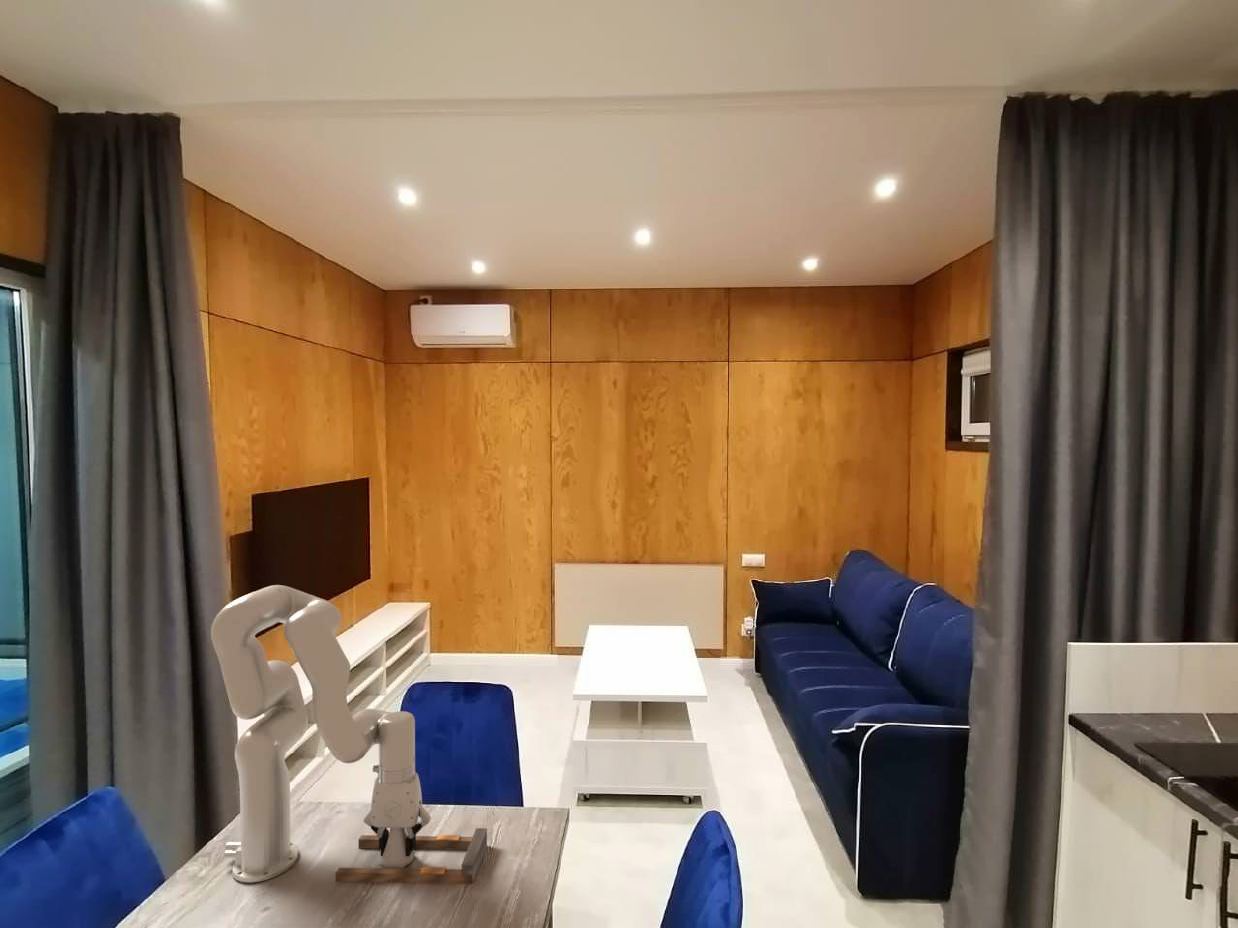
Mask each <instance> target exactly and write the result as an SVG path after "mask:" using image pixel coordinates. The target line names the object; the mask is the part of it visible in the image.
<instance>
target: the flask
mask: <svg viewBox="0 0 1238 928" xmlns="http://www.w3.org/2000/svg"><path fill="white" fill-rule="evenodd" d="M407 836H408V834H407V830H406V828H389V838H388V841H387V844H386V847H385V850H384V853H383V856H381V859H380V862H379V867H380V868H406V866H409V864H411V863H412V862H413V861H414V857H415V856H416V855H415V854H416V851H415V849H414V850H413V851H412V852H411V854H410V856H409V857H407V856H406V838H407Z"/></svg>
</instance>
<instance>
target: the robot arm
mask: <svg viewBox="0 0 1238 928" xmlns="http://www.w3.org/2000/svg"><path fill="white" fill-rule="evenodd" d="M278 623H281V624H284V626H283V636H284V638H285V640H286V642H287V643H288V646H289V648H290V650H291V651H292V653H293V655H294V657H295V658H296V660H297V662H298V664H299V666H300V668H301V670H302V671H303V674H304V675H305V677H306V679H307V680H308V682H309V684H310V686H311V689H312V695H311V696H312V707H313V714H314V721H315V724H316V727H317V728H316V729H317V730H318V733H319V735H320V736H321V739H322V740H323V742H324V744H325V746H326V747H327V749H328V750H329V752H330V754H332V756H333V757H334V758H335V759H336V760H337V761H339V762H340V763H344V764H353V763H356V762H359V761H360V760H362V759H363V758H364V756H366V755H367V754H368V752H369V751H370V750H371V749H372V748H373V746H375V745H378V764H376V765H373V766H372V772H373V773H377V777H376V778H375V780H374V783H373V789H372V794H371V804H370V805H371V806H370V810H369V812H368V813H367V814H366V815H365V817H364V819H363V823H365V825H367V826H368V827H370V829H371V830H372V831H373V832H374V833H375V835H377V838H379V848H378V850H379V851H380V856H381V857H382V856H383V853H384V850H385V847H386V844H387V841H388V838H389V834H390V828H405V831H406V833H407V835H408V836H407V838H406V856H407V857H409V856H410V854H411V852H412V851H413V850H414V851H415V850H416V849H415V846H416V836H417V834H418V833H419V832H420V831H421V830H422V828H424V827H425V826H427V825H428V824H429V823H430V822H431V819H432V817H431V816H430V814H429V813H428V812H427V810H426V809H425V808H424V807H423V797H422V789H421V788H422V787H421V783H420V782H421V781H420V778H419V774H418V772H416V738H415V737H416V729H415V728H416V725H415V724H416V720H415V717H414V715H413V713H411V712H409V711H406V710H405V711H403V710H402V711H393V712H392V711H385V710H380V709H375V708H364V709H362V710H359V711H358V712H357V713H355V714H354V715H353V716H352V713H351V711H350V708H349V704H348V700H347V699H348V698H347V691H348V690H347V689H348V684H349V680H350V674H351V663H350V660H349V659H348V658H347V655H346V654H345V651H343V649H342V646H341V645H340V643H339V641H338V639H337V637H336V636H335V633H336V632H337V631H338V629H339V627H341V623H342V614H341V613H340V610H339V609H338V608H337V607H336V606H335V605H334V604H333V603H331V602H330V601H328V600H326V599H324V598H320V597H317V596H315V595H313V594H309V593H307V592H304V591H301V590H299V589H296V588H293V587H290V586H287V585H283V584H282V585H280V584H275V585H273V584H272V585H269V586H266V587H263V588H261V589H258V590H256V591H252V592H250V593H248V594H245V595H243V596H241V597H238V598H236V599H235V600H232V601H231V602H229V603H228V604H226V606H224V607H223V608H222V609H221V610H220V611H219V612H218V613H217V614H216V616H215V618H214V619H213V621H212V624H211V629H210V637H211V638H210V639H211V643H212V646H213V648H214V651H215V654H216V655H217V659H218V662H219V665H220V670H221V674H222V679H223V682H224V686H225V690H226V693H227V694H226V695H227V697H228V700H229V706H230V709H231V710H232V712H233V714H234V715H235V716H236V717H237V718H239V719H240V720H244V721H246V720H253V719H257V718H258V717H260V716H262V715H263V717H261V718H260V719H258V720H257V721H255V722H254V723H253V724H251V726H250V727H248V728H247V729H246V730H245V731H244V732H243V733H242V735H240V737H239V738H238V741H237V743H236V745H235V749H234V760H235V764H236V769H237V772H238V779H239V801H240V802H239V803H240V804H239V806H240V807H239V808H240V809H239V811H240V812H239V813H240V814H239V817H240V821H239V822H240V823H239V824H240V826H239V827H240V836H239V837H240V839H239V840H240V841H228V842H227V843H226V845H225V849H224V850H225V852H224V853H223V857H224V858H226V859H227V858H228V859H230V858H234V859H235V861H234V862H233V864H232V869H231V874H232V877H233V878H234V880H236V881H239V882H241V883H246V884H247V883H250V884H251V883H258V882H263V881H266V880H270V879H273V878H275V877H277V876H279V875H281V874H283V873H284V872H286V871H287V870H289V869H290V868H291V867H292V866H293V865H294V864H295V862H296V861H297V859H298V857H299V848H298V846H297V844H296V843H294V842H292V841H291V780H290V779H291V778H290V772H289V768H288V766H287V765H286V761H285V757H286V754H288V752H289V751H290V750H291V749H292V748H293V747H294V746H295V745H297V744H298V742H299V741H300V740H301V739H302V738H303V737H304V735H305V734H306V731H307V729H308V726H309V723H308V722H309V718H308V713H307V708H306V704H305V701H304V697H303V693H302V688H301V685H300V681H299V679H298V675H297V673H296V671H295V670H294V668H293V667H292V666H291V665H290V664H289V663H287V662H285V661H283V660H280V659H279V660H276V659H273V660H268V659H267V656H266V655H267V653H266V651H265V648H264V646H263V645H262V643H261V641H259V638H257V637H256V635H257V634H259V633H260V632H261V631H263V630H265V629H267V628H270V627H272V626H274V625H276V624H278ZM419 818H420V820H419Z"/></svg>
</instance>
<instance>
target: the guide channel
mask: <svg viewBox="0 0 1238 928" xmlns="http://www.w3.org/2000/svg"><path fill="white" fill-rule="evenodd" d="M487 846H488V828H486V827H485V828H483V827H482V828H481V827H480V828H479V827H476V828H475V831H474V833H473V835H472V836H461V835H460V834H438V835H416V846H415V849H414V850H467V851H466V853H465V855H464V857H463V860H462V863H461V868H460V869H459V868H458V869H457V868H455V869H454V868H447V867H443V866H442V867H441V866H440V867H435V866H434V867H431V866H422V868H406V867H404V868H383V867H338V868H337V869H336V871H335V883H339V882H340V883H341V882H342V883H346V882H347V883H395V884H396V883H400V884H401V883H402V884H405V883H406V884H465V885H466V884H470V885H472V884H475V883H474V882H475V880H476V877H477V874H478V871H479V869H480V867H481V864H482V861H483V858H484V855H485V852H486V849H487ZM358 849H379V838H377V834H374V835H369V834H368V835H367V834H366V835H363V834H362V835H360V836H359V838H358Z"/></svg>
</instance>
